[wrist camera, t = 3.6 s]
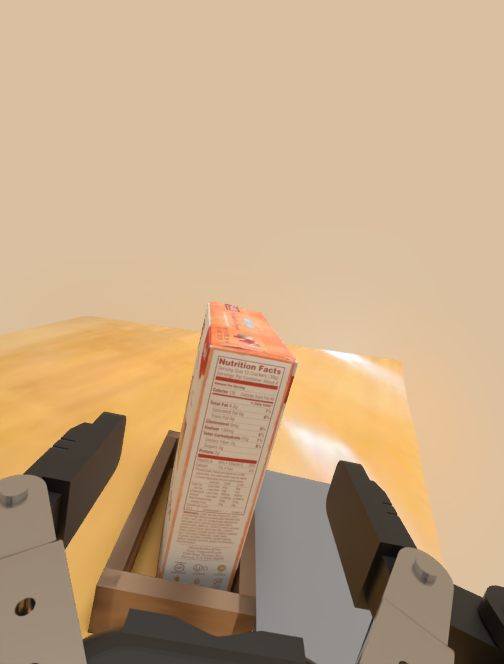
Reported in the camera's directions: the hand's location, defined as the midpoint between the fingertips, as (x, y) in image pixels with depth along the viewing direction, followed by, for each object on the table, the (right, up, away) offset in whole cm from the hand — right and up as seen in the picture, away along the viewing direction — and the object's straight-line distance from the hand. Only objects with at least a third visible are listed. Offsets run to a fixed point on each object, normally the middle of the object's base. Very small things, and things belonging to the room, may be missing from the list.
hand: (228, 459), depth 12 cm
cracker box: (-5, -14, +19) cm, 24 cm away
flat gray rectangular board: (+6, -17, +19) cm, 26 cm away
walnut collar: (-5, -14, +19) cm, 24 cm away
